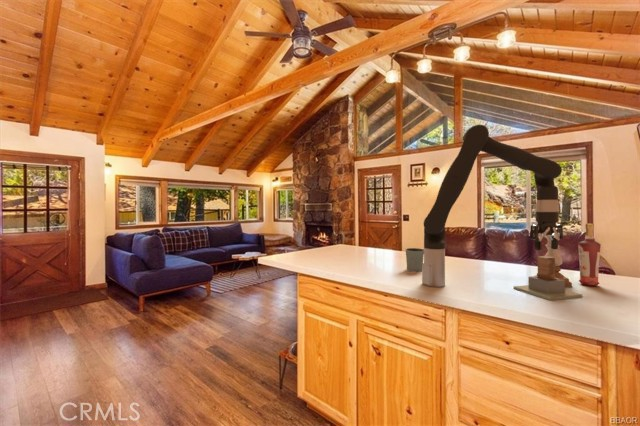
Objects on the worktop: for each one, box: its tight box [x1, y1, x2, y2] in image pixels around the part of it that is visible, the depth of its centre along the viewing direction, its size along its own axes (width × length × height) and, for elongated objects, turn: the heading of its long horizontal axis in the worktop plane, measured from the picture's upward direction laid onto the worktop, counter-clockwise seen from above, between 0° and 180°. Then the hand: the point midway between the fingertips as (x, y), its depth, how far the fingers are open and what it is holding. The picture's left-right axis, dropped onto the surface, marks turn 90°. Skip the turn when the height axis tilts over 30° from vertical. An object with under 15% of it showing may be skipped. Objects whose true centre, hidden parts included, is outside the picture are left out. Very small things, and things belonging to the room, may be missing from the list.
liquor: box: [578, 223, 602, 287], centre depth 129 cm, size 7×7×28 cm
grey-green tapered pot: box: [405, 247, 424, 273], centre depth 164 cm, size 10×10×12 cm
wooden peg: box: [537, 255, 555, 281], centre depth 119 cm, size 4×4×14 cm
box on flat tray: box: [513, 275, 583, 301], centre depth 119 cm, size 16×16×6 cm
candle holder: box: [535, 231, 573, 288], centre depth 133 cm, size 11×11×24 cm
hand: (546, 249), depth 119 cm, fingers open, 8 cm apart
